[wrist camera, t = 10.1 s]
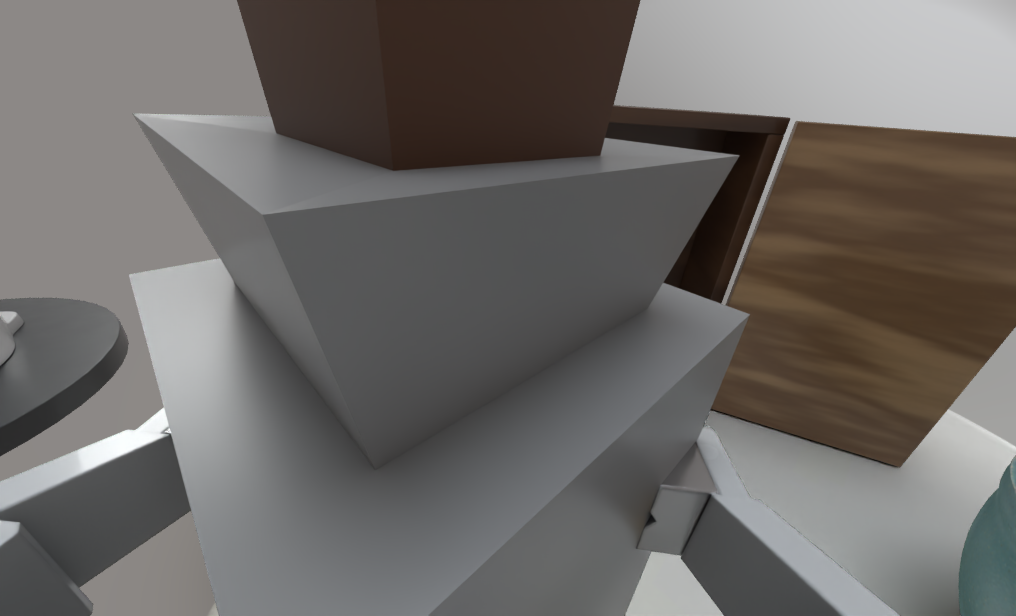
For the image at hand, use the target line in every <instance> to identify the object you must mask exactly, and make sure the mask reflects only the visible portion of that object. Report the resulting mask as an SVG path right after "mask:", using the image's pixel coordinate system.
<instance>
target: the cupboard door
mask: <svg viewBox="0 0 1016 616" xmlns="http://www.w3.org/2000/svg"><path fill="white" fill-rule="evenodd" d="M726 306H728V307H731V308H734V309H737V310H739V311H742V312H745V313H748V314H750V316H749V318H748V320H747V323H746V325H745V328H744V330H743V332H742V335H741V337H740V340H739V342H738V344H737V347H736V349H735V352H734V354H733V356H732V359H731V361H730V364H729V366H728V368H727V371H726V373H725V376H724V378H723V380H722V383H721V385H720V388H719V390H718V393H717V395H716V397H715V400H714V402H713V405H712V407H711V409H713V410H717V411H720V412H723V413H726V414H729V415H733V416H736V417H739V418H742V419H746V420H749V421H752V422H755V423H759V424H762V425H765V426H768V427H771V428H775V429H778V430H781V431H784V432H788V433H791V434H794V435H797V436H801V437H804V438H807V439H810V440H813V441H817V442H820V443H823V444H826V445H830V446H833V447H836V448H839V449H843V450H846V451H849V452H852V453H855V454H859V455H862V456H865V457H868V458H872V459H875V460H878V461H881V462H885V463H888V464H891V465H894V466H897V467H901V466H902V465H903V463H904V462H905V461H906V460H907V459H908V457H909V456H910V455H911V454H912V452H913V451H914V450H915V449H916V448H917V446H918V445H919V444H920V443H921V441H922V440H923V439H924V438H925V437H926V435H927V434H928V433H929V432H930V431H931V429H932V428H933V427H934V426H935V424H936V423H937V422H938V421H939V420H940V418H941V417H942V416H943V415H944V413H945V412H946V411H947V410H948V409H949V407H950V406H951V405H952V404H953V402H954V401H955V400H956V399H957V398H958V396H959V395H960V394H961V393H962V392H963V390H964V389H965V388H966V387H967V385H968V384H969V383H970V382H971V380H972V379H973V378H974V377H975V376H976V374H977V373H978V372H979V371H980V369H981V368H982V367H983V366H984V365H985V363H986V362H987V361H988V360H989V359H990V357H991V356H992V355H993V354H994V352H995V351H996V350H997V349H998V348H999V346H1000V345H1001V344H1002V343H1003V342H1004V340H1005V339H1006V338H1007V337H1008V335H1009V334H1010V333H1011V331H1013V329H1014V328H1015V327H1016V137H1006V136H993V135H979V134H965V133H952V132H937V131H925V130H910V129H897V128H884V127H871V126H857V125H843V124H829V123H816V122H803V121H796V122H795V124H794V127H793V129H792V132H791V134H790V137H789V140H788V142H787V145H786V148H785V150H784V153H783V156H782V158H781V161H780V163H779V166H778V169H777V172H776V174H775V177H774V179H773V182H772V185H771V187H770V190H769V192H768V195H767V198H766V200H765V203H764V206H763V208H762V211H761V214H760V216H759V219H758V221H757V224H756V226H755V229H754V232H753V235H752V237H751V240H750V242H749V245H748V247H747V250H746V253H745V255H744V258H743V261H742V263H741V266H740V269H739V271H738V274H737V276H736V279H735V282H734V284H733V287H732V290H731V292H730V295H729V298H728V300H727V303H726Z"/></svg>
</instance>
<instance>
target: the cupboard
mask: <svg viewBox="0 0 1016 616" xmlns="http://www.w3.org/2000/svg"><path fill="white" fill-rule="evenodd" d="M789 121H790V118H786V117H773V116H761V115H748V114H735V113H721V112H706V111H692V110H677V109H663V108H648V107H635V106H620V105H613V108H612V112H611V116H610V120H609V124H608V128H607V132H606V136H605V138H609V139H617V140H625V141H632V142H640V143H648V144H655V145H663V146H670V147H678V148H686V149H693V150H701V151H709V152H716V153H724V154H732V155H739V157H738V159H737V161H736V162H735V164H734V166H733V167H732V169H731V171H730V172H729V174H728V176H727V177H726V179H725V181H724V182H723V184H722V186H721V187H720V189H719V191H718V192H717V194H716V196H715V197H714V199H713V201H712V202H711V204H710V206H709V207H708V209H707V211H706V212H705V214H704V216H703V217H702V219H701V221H700V222H699V224H698V226H697V227H696V229H695V231H694V232H693V234H692V236H691V237H690V239H689V241H688V242H687V244H686V246H685V247H684V249H683V251H682V252H681V254H680V256H679V257H678V259H677V261H676V262H675V264H674V266H673V267H672V269H671V271H670V272H669V274H668V276H667V277H666V279H665V281H664V282H663V283H665V284H668V285H671V286H674V287H676V288H679V289H682V290H685V291H687V292H690V293H693V294H696V295H698V296H701V297H704V298H706V299H709V300H712V301H715V302H717V303H720V304H721V303H722V300H723V297H724V295H725V292H726V290H727V287H728V284H729V281H730V279H731V276H732V273H733V271H734V268H735V265H736V263H737V260H738V257H739V255H740V252H741V249H742V247H743V244H744V241H745V239H746V236H747V233H748V231H749V228H750V225H751V223H752V220H753V217H754V215H755V212H756V209H757V206H758V204H759V201H760V198H761V196H762V193H763V190H764V188H765V185H766V182H767V179H768V177H769V174H770V172H771V169H772V166H773V163H774V161H775V158H776V156H777V153H778V150H779V147H780V145H781V142H782V140H783V137H784V134H785V132H786V129H787V126H788V124H789Z"/></svg>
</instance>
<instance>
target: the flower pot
mask: <svg viewBox="0 0 1016 616" xmlns="http://www.w3.org/2000/svg"><path fill="white" fill-rule="evenodd" d="M958 589H959V606H960V614H961V616H1016V456H1015V457H1014V458H1013V459H1012V461H1011V463H1010V465H1009V466H1008V467H1007V468H1006V470H1005V472H1004V474H1003V476H1002V478H1001V480H1000V485H999V488H998V489H997V490H996V491H995V492H994V493H993V494H992V495H991V496H990V497H989V499H988V500H987V501H986V503H985V504H984V505H983V507H982V508H981V510H980V511H979V513H978V515H977V516H976V518H975V520H974V521H973V523H972V525H971V528H970V530H969V532H968V535H967V538H966V541H965V545H964V548H963V552H962V557H961V562H960V570H959V586H958Z"/></svg>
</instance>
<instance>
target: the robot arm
mask: <svg viewBox="0 0 1016 616" xmlns="http://www.w3.org/2000/svg"><path fill="white" fill-rule="evenodd" d="M23 323H24V320H23V319H22V318H21V317H20V316H19V315H18V313H16V312H11V311H0V366H1V365H2V364H3V363H4V362H5V361H6V360H7V359H8V358H9V357H10V356H11V354H12V353H13V351H14V349H15V342H14V339H13V334H14V333H15V332H16V331H17V330H18V329H19V328H20V327H21V326H22V325H23ZM189 511H191V508H190V504H189V500H188V496H187V492H186V489H185V485H184V481H183V477H182V473H181V470H180V466H179V462H178V458H177V455H176V451H175V447H174V443H173V439H172V436H171V432H170V428H169V424H168V421H167V417H166V413H165V409H164V408H163V409H161V410H160V411H159V412H158V413H156V414H155V415H154V416H153V417H151V418H150V419H149V420H148V421H146V422H145V423H144V424H143V425H142V426H140V427H139V428H138V429H137V430H126V431H124V432H121V433H118V434H116V435H113V436H111V437H109V438H106V439H104V440H101V441H99V442H96V443H94V444H91V445H89V446H87V447H84V448H82V449H79V450H77V451H74V452H72V453H69V454H67V455H64V456H62V457H60V458H57V459H55V460H52V461H50V462H47V463H45V464H42V465H40V466H38V467H35V468H33V469H30V470H28V471H25V472H23V473H21V474H18V475H15V476H13V477H11V478H8V479H6V480H3V481H1V482H0V616H90V615H91V614H92V610H93V603H92V602H91V601H90V600H89V599H88V598H87V597H86V595H85V594H84V593H83V592H82V591H81V590H80V589H79V587H81V586H82V585H84V584H85V583H86V582H88V581H89V580H91V579H92V578H94V577H95V576H97V575H98V574H100V573H101V572H103V571H104V570H105V569H107V568H108V567H110V566H111V565H113V564H114V563H116V562H117V561H118V560H120V559H121V558H123V557H124V556H125V555H127V554H128V553H130V552H131V551H133V550H134V549H136V548H137V547H138V546H140V545H141V544H143V543H145V542H146V541H147V540H149V539H150V538H151V537H153V536H155V535H156V534H157V533H159V532H160V531H162V530H163V529H165V528H166V527H168V526H169V525H171V524H172V523H174V522H175V521H176V520H178V519H179V518H181V517H182V516H184V515H185V514H187V513H188V512H189ZM650 512H651V516H650V518H649V519H648V521H647V523H646V525H645V526H644V528H643V531H642V534H641V536H640V539H639V542H638V544H637V547H636V549H639V550H646V551H653V552H660V553H667V554H674V555H680V556H681V559H682V560H683V562H684V563H685V564H686V566H687V567H688V568H689V570H690V571H691V572H692V574H693V575H694V576H695V578H696V579H697V580H698V581H699V583H700V584H701V585H702V587H703V588H704V589H705V591H706V592H707V593H708V595H709V596H710V597H711V599H712V600H713V601H714V603H715V604H716V605H717V607H718V608H719V609H720V611H721V612H722V613H723V615H724V616H900V615H899V614H898V613H896V612H895V611H894V610H893V609H892V608H890V607H889V606H888V605H887V604H886V603H884V602H883V601H882V600H881V599H880V598H878V597H877V596H876V595H875V594H873V593H872V592H871V591H870V590H869V589H867V588H866V587H865V586H864V585H863V584H861V583H860V582H859V581H858V580H856V579H855V578H854V577H853V576H852V575H850V574H849V573H848V572H847V571H846V570H844V569H843V568H842V567H841V566H839V565H838V564H837V563H836V562H835V561H833V560H832V559H831V558H830V557H829V556H827V555H826V554H825V553H824V552H822V551H821V550H820V549H819V548H818V547H816V546H815V545H814V544H813V543H812V542H810V541H809V540H808V539H807V538H806V537H804V536H803V535H802V534H801V533H799V532H798V531H797V530H796V529H795V528H793V527H792V526H791V525H790V524H789V523H787V522H786V521H785V520H784V519H782V518H781V517H780V516H779V515H778V514H776V513H775V512H774V511H773V510H772V509H770V508H769V507H768V506H767V505H765V504H764V503H763V502H762V501H761V500H759V499H752V498H751V497H750V495H749V493H748V492H747V490H746V488H745V486H744V484H743V482H742V480H741V478H740V477H739V475H738V473H737V471H736V469H735V467H734V465H733V463H732V462H731V460H730V458H729V456H728V454H727V452H726V450H725V448H724V447H723V445H722V443H721V441H720V439H719V437H718V435H717V433H716V432H715V430H713V429H712V428H711V427H704V426H703V429H702V431H701V433H700V436H699V438H698V439H697V440H696V442H695V443H694V444H693V445H692V447H691V448H690V449H689V450H688V451H687V453H686V454H685V455H684V456H683V458H682V459H681V460H680V461H679V463H678V464H677V465H676V466H675V468H674V469H673V470H672V471H671V473H670V474H669V475H668V476H667V478H666V479H665V480H664V481H663V483H662V484H661V485H660V487H659V489H658V492H657V494H656V497H655V500H654V502H653V505H652V507H651V510H650Z"/></svg>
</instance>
